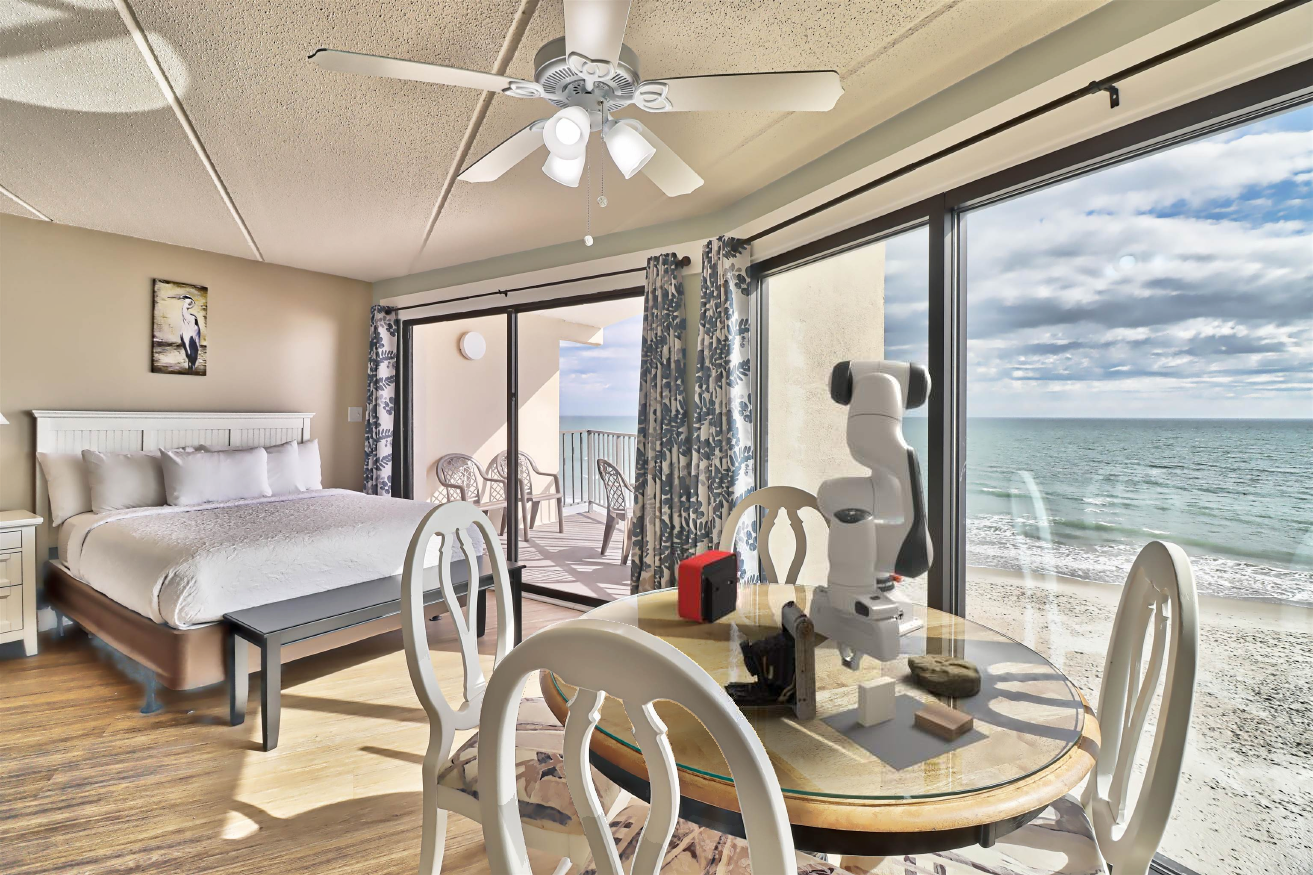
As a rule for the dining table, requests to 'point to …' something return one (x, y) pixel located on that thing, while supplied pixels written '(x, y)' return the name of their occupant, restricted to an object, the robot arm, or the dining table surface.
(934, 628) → the dining table surface
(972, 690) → the stone
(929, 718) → the walnut block
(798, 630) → the vintage camera
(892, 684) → the box
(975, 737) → the mat
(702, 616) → the alarm clock
